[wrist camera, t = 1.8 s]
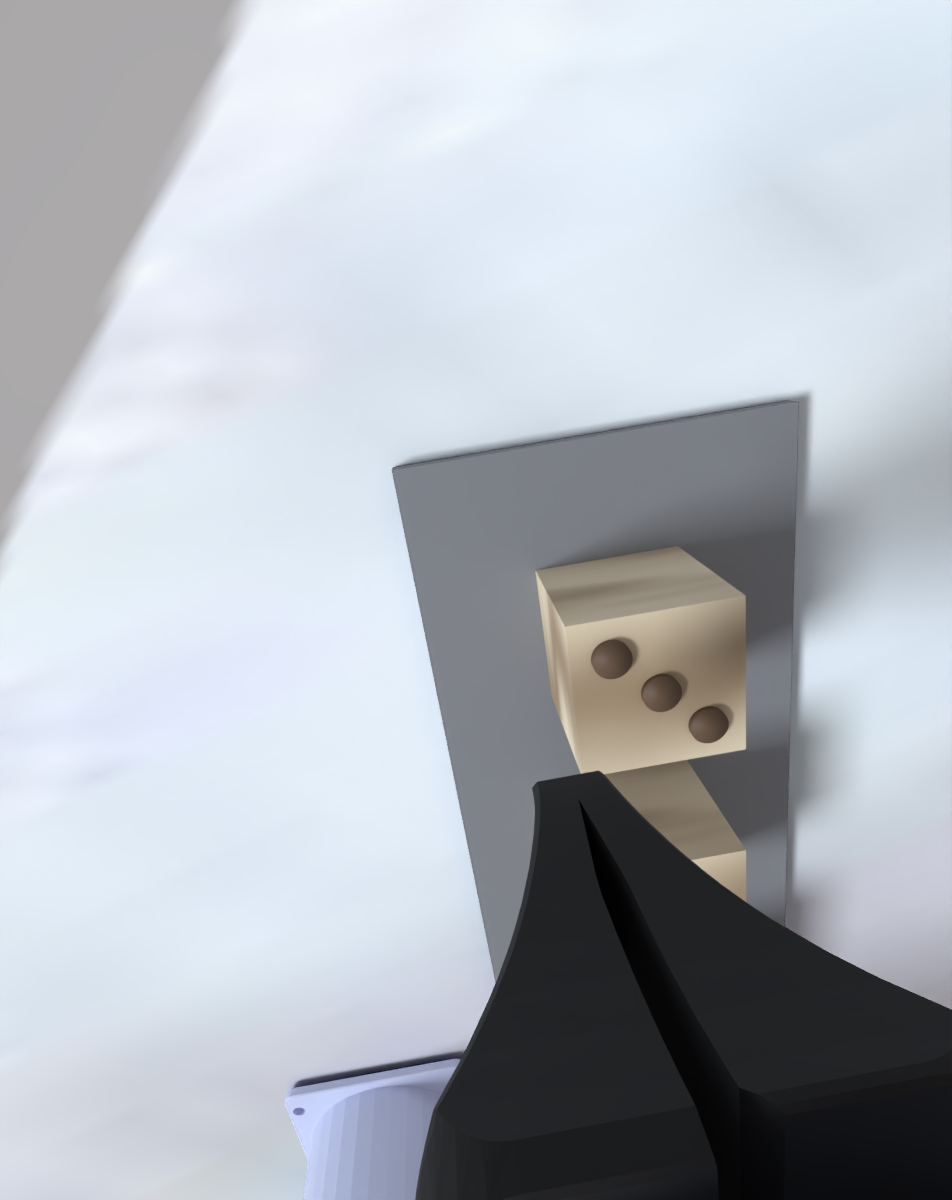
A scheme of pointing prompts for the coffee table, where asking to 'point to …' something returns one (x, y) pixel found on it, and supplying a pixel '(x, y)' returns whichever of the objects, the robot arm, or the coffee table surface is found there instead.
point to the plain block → (686, 819)
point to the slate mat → (586, 533)
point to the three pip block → (645, 659)
